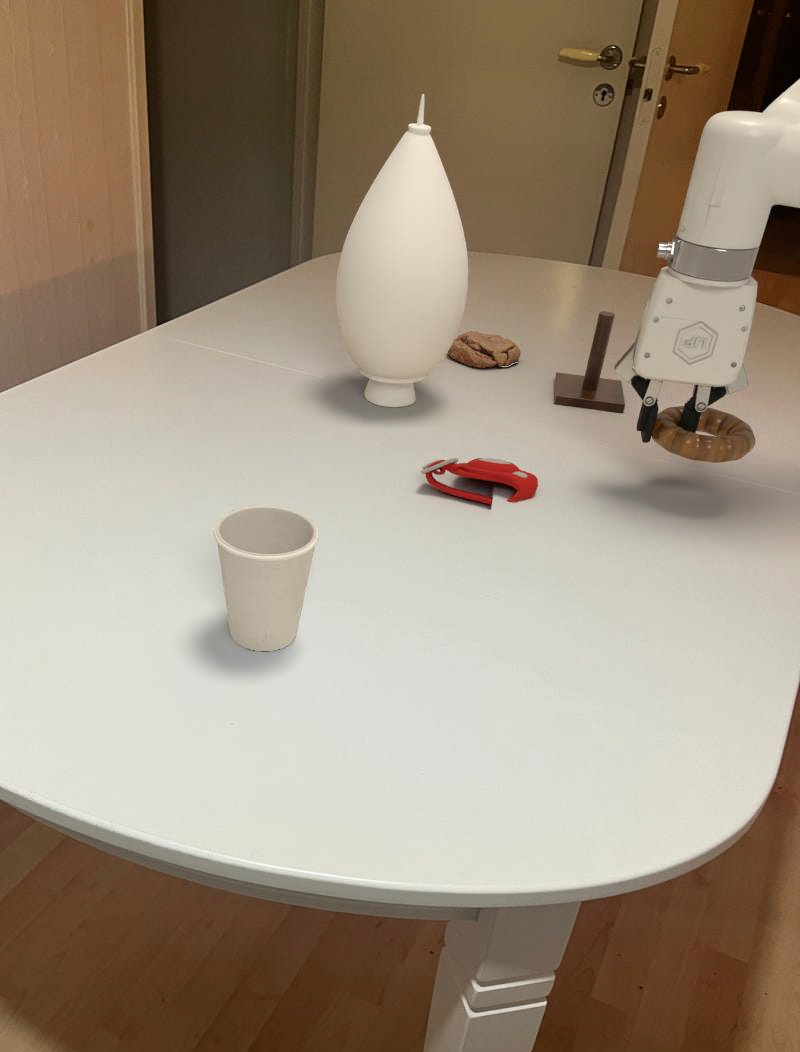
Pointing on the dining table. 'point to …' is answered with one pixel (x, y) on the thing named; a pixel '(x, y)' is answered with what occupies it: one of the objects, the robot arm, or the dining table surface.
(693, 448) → the ring
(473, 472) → the tracker holder
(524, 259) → the dining table surface
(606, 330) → the peg
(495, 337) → the cookie
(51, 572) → the dining table surface
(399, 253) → the lamp
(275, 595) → the dixie cup
